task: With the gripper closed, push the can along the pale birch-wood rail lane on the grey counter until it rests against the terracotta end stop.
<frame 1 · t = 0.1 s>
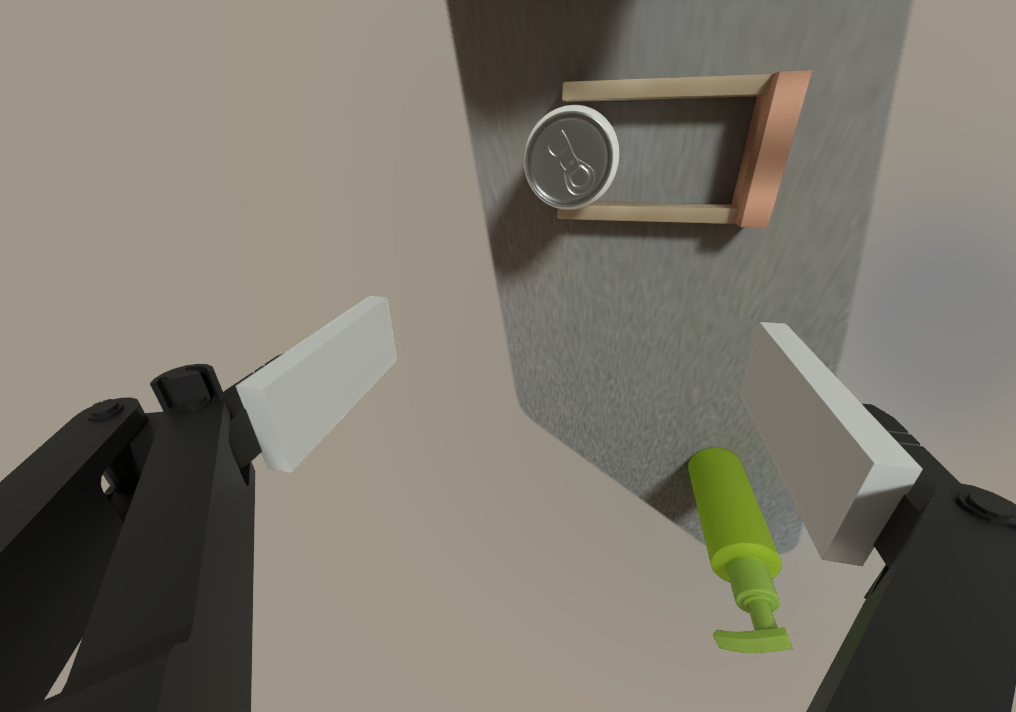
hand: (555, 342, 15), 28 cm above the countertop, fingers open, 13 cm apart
can: (579, 153, 37), on the countertop
soap dispenser: (709, 466, 49), on the countertop
guide lane: (655, 153, 35), on the countertop
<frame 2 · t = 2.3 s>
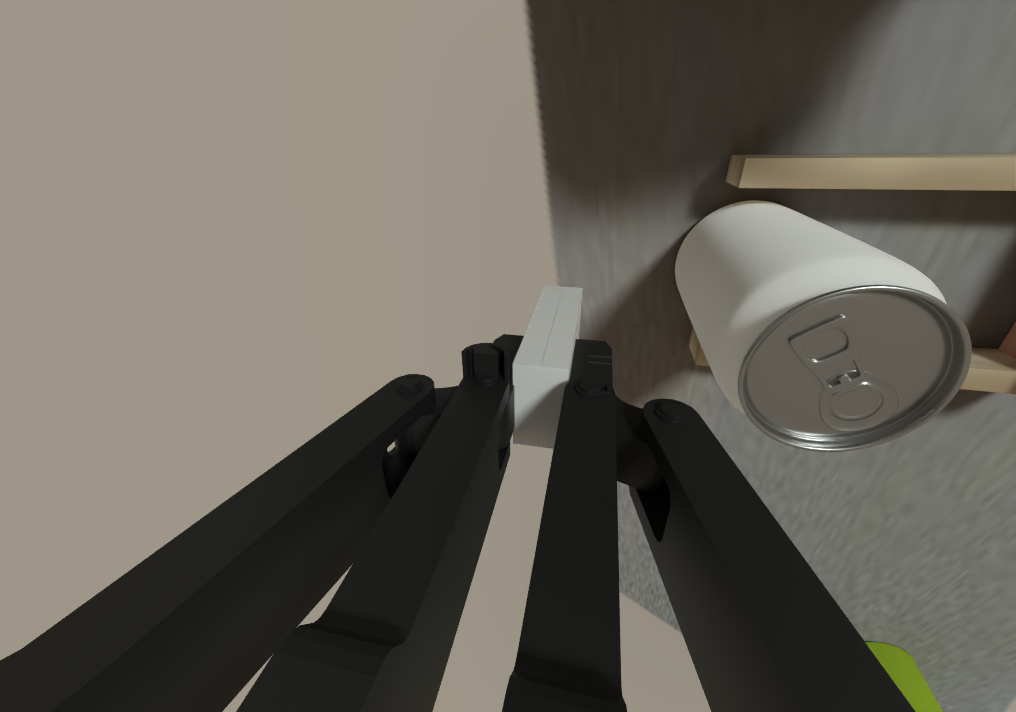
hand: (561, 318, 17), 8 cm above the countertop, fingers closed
can: (736, 260, 22), on the countertop
soap dispenser: (861, 658, 35), on the countertop
guide lane: (876, 267, 21), on the countertop
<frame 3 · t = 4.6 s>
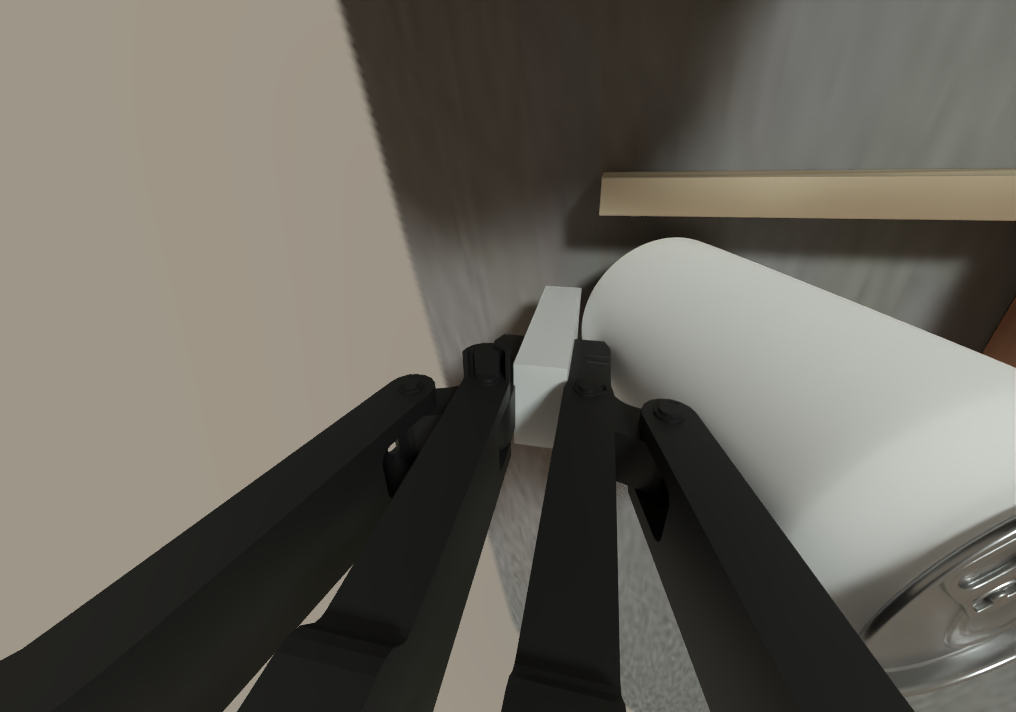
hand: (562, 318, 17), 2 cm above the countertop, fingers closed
can: (650, 312, 17), point 1 cm above the countertop, touching gripper
guide lane: (792, 309, 17), on the countertop
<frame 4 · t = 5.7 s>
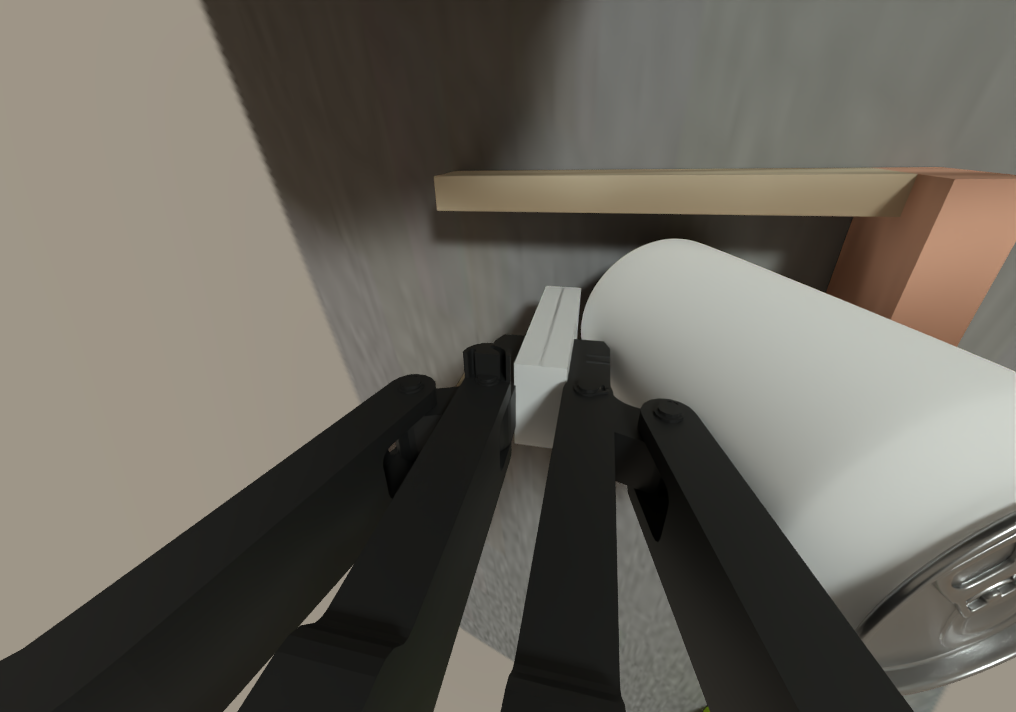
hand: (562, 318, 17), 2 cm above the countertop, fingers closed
can: (649, 313, 17), point 1 cm above the countertop, touching gripper, hand
guide lane: (639, 299, 18), on the countertop
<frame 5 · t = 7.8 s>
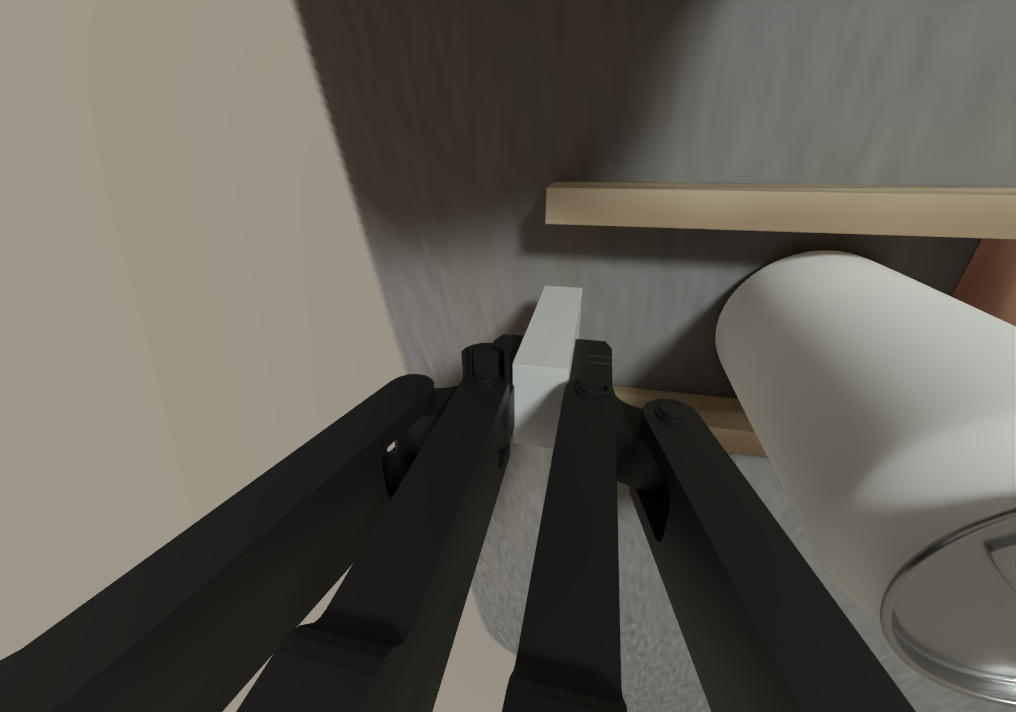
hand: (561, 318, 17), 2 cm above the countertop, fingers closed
can: (795, 323, 17), on the countertop
guide lane: (738, 317, 17), on the countertop
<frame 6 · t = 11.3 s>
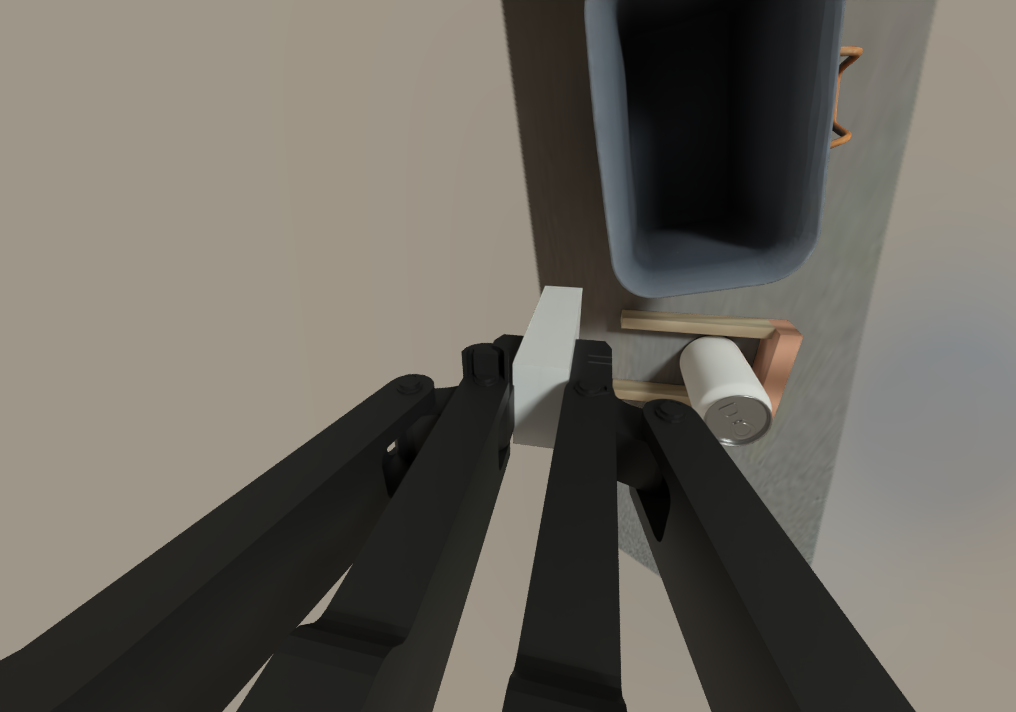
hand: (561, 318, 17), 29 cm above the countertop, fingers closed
can: (708, 358, 47), on the countertop
storage bin: (688, 127, 37), on the countertop, touching arm
guide lane: (687, 356, 47), on the countertop
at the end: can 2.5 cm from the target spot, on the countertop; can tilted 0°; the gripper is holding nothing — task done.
